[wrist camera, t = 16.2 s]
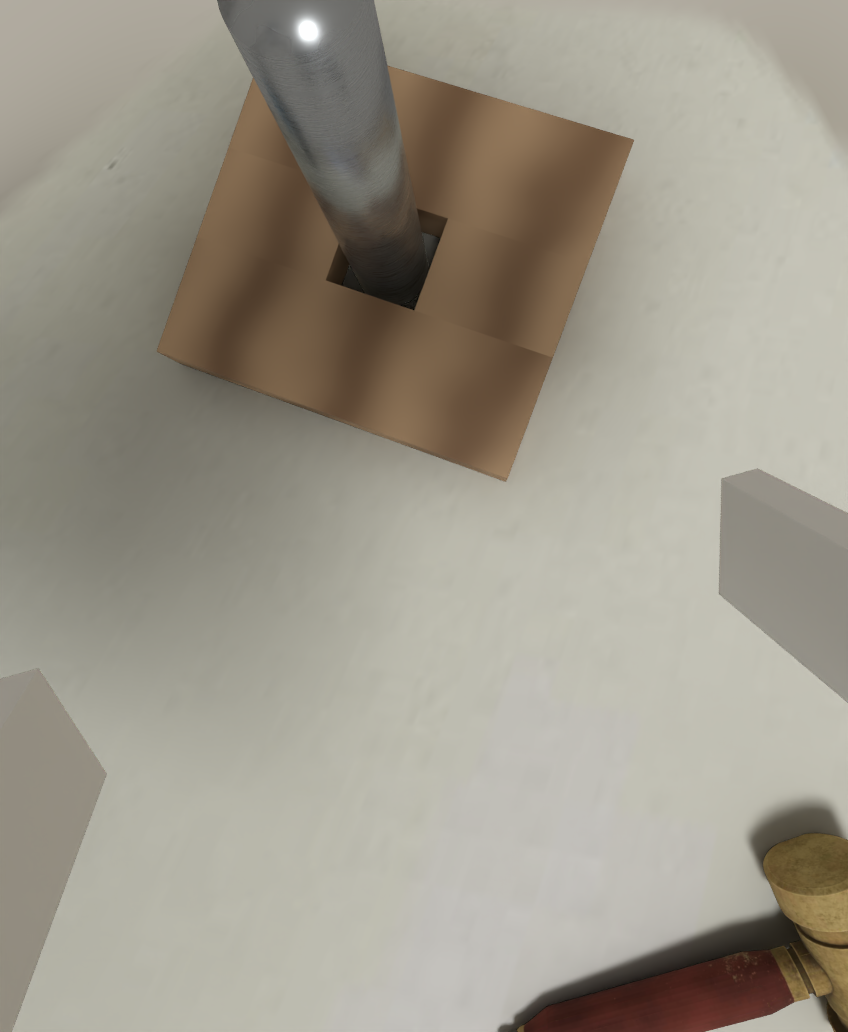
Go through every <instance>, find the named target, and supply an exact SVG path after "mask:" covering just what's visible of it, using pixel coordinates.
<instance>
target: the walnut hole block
mask: <svg viewBox="0 0 848 1032" xmlns="http://www.w3.org/2000/svg"><path fill="white" fill-rule="evenodd" d="M387 67H388V72H389V76H390V81H391V86H392V91H393V96H394V101H395V105H396V110H397V115H398V120H399V125H400V130H401V135H402V139H403V144H404V149H405V154H406V159H407V164H408V168H409V173H410V178H411V183H412V188H413V193H414V197H415V202H416V207H417V212H418V217H419V222H420V226H421V231H422V232H424V233H427V234H430V235H434V236H437V237H440V238H441V239H440V242H439V245H438V247H437V250H436V253H435V256H434V258H433V261H432V264H431V266H430V269H429V272H428V275H427V277H426V280H425V283H424V286H423V288H422V291H421V294H420V296H419V299H418V302H417V305H416V307H415V310H411V309H408V308H405V307H403V306H400V305H397V304H394V303H391V302H388V301H385V300H382V299H379V298H376V297H373V296H370V295H367V294H364V293H361V292H358V291H356V290H353V289H350V288H347V287H344V286H342V283H343V280H344V277H345V275H346V272H347V269H348V266H349V262H348V260H347V258H346V256H345V254H344V252H343V250H342V248H341V247H340V245H339V243H338V241H337V239H336V237H335V235H334V233H333V231H332V229H331V227H330V225H329V223H328V221H327V219H326V217H325V215H324V214H323V212H322V210H321V208H320V206H319V204H318V202H317V200H316V198H315V196H314V194H313V192H312V190H311V188H310V186H309V184H308V182H307V181H306V179H305V177H304V175H303V173H302V171H301V169H300V167H299V165H298V163H297V161H296V159H295V157H294V155H293V153H292V151H291V149H290V148H289V146H288V144H287V142H286V140H285V138H284V136H283V134H282V132H281V130H280V128H279V126H278V124H277V122H276V120H275V118H274V116H273V115H272V113H271V111H270V109H269V107H268V105H267V103H266V101H265V99H264V97H263V95H262V93H261V91H260V89H259V87H258V85H257V84H256V82H255V80H254V78H253V80H252V83H251V86H250V88H249V91H248V94H247V97H246V100H245V102H244V105H243V108H242V111H241V114H240V117H239V119H238V122H237V125H236V128H235V131H234V134H233V136H232V139H231V142H230V145H229V148H228V151H227V153H226V156H225V159H224V162H223V165H222V167H221V170H220V173H219V176H218V179H217V182H216V184H215V187H214V190H213V193H212V196H211V199H210V201H209V204H208V207H207V210H206V213H205V216H204V218H203V221H202V224H201V227H200V230H199V232H198V235H197V238H196V241H195V244H194V247H193V249H192V252H191V255H190V258H189V261H188V264H187V266H186V269H185V272H184V275H183V278H182V281H181V283H180V286H179V289H178V292H177V295H176V297H175V300H174V303H173V306H172V309H171V312H170V314H169V317H168V320H167V323H166V326H165V329H164V331H163V334H162V337H161V340H160V343H159V346H158V348H157V352H159V353H161V354H163V355H165V356H167V357H169V358H170V359H172V360H174V361H176V362H178V363H180V364H183V365H186V366H188V367H191V368H194V369H197V370H199V371H202V372H205V373H208V374H211V375H213V376H216V377H219V378H222V379H224V380H227V381H230V382H233V383H235V384H238V385H241V386H244V387H246V388H249V389H252V390H255V391H257V392H260V393H263V394H266V395H268V396H271V397H274V398H277V399H279V400H282V401H285V402H288V403H290V404H293V405H296V406H299V407H301V408H304V409H307V410H310V411H312V412H315V413H318V414H321V415H323V416H326V417H329V418H332V419H334V420H337V421H340V422H343V423H345V424H348V425H351V426H354V427H356V428H359V429H362V430H365V431H367V432H370V433H373V434H376V435H378V436H381V437H384V438H387V439H390V440H392V441H395V442H398V443H401V444H403V445H406V446H409V447H412V448H414V449H417V450H420V451H423V452H425V453H428V454H431V455H434V456H436V457H439V458H442V459H445V460H447V461H450V462H453V463H456V464H458V465H461V466H464V467H467V468H469V469H472V470H475V471H478V472H480V473H483V474H486V475H489V476H491V477H494V478H497V479H500V480H502V481H505V482H506V480H507V478H508V476H509V473H510V470H511V468H512V465H513V462H514V460H515V457H516V454H517V452H518V449H519V446H520V444H521V441H522V438H523V436H524V433H525V430H526V428H527V425H528V422H529V420H530V417H531V414H532V412H533V409H534V406H535V404H536V401H537V398H538V396H539V393H540V390H541V388H542V385H543V382H544V380H545V377H546V374H547V372H548V369H549V366H550V364H551V361H552V358H553V356H554V353H555V350H556V348H557V345H558V342H559V340H560V337H561V334H562V331H563V329H564V326H565V323H566V321H567V318H568V315H569V313H570V310H571V307H572V305H573V302H574V299H575V297H576V294H577V291H578V289H579V286H580V283H581V281H582V278H583V275H584V273H585V270H586V267H587V265H588V262H589V259H590V257H591V254H592V251H593V249H594V246H595V243H596V241H597V238H598V235H599V233H600V230H601V227H602V225H603V222H604V219H605V217H606V214H607V211H608V209H609V206H610V203H611V201H612V198H613V195H614V193H615V190H616V187H617V185H618V182H619V179H620V177H621V174H622V171H623V169H624V166H625V163H626V161H627V158H628V155H629V153H630V150H631V147H632V144H633V142H634V140H633V139H630V138H626V137H623V136H620V135H616V134H613V133H610V132H606V131H603V130H600V129H596V128H593V127H590V126H586V125H583V124H580V123H576V122H573V121H570V120H566V119H563V118H560V117H556V116H553V115H550V114H546V113H543V112H540V111H536V110H533V109H530V108H527V107H523V106H520V105H517V104H513V103H510V102H507V101H503V100H500V99H497V98H493V97H490V96H487V95H483V94H480V93H477V92H473V91H470V90H467V89H463V88H460V87H457V86H453V85H450V84H447V83H443V82H440V81H437V80H433V79H430V78H427V77H424V76H420V75H417V74H414V73H410V72H407V71H404V70H400V69H397V68H394V67H390V66H387Z"/></svg>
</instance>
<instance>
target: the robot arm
mask: <svg viewBox="0 0 848 1032" xmlns="http://www.w3.org/2000/svg"><path fill="white" fill-rule="evenodd" d="M719 595H721V596H722V597H723V598H724V599H725V600H727V601H728V602H729V603H730V604H731V605H732V606H734V607H735V608H736V609H737V610H738V611H740V612H741V613H742V614H743V615H744V616H745V617H747V618H748V619H749V620H750V621H751V622H753V623H754V624H755V625H756V626H757V627H759V628H760V629H761V630H762V631H763V632H764V633H766V634H767V635H768V636H769V637H770V638H772V639H773V640H774V641H775V642H776V643H777V644H779V645H780V646H781V647H782V648H783V649H785V650H786V651H787V652H788V653H789V654H791V655H792V656H793V657H794V658H795V659H796V660H798V661H799V662H800V663H801V664H802V665H804V666H805V667H806V668H807V669H808V670H809V671H811V672H812V673H813V674H814V675H815V676H817V677H818V678H819V679H820V680H821V681H823V682H824V683H825V684H826V685H827V686H828V687H830V688H831V689H832V690H833V691H834V692H836V693H837V694H838V695H839V696H840V697H842V698H843V699H844V700H845V701H846V702H847V703H848V513H847V512H844V511H842V510H840V509H838V508H836V507H834V506H832V505H830V504H828V503H826V502H824V501H822V500H820V499H818V498H816V497H814V496H812V495H810V494H808V493H806V492H804V491H802V490H800V489H798V488H796V487H794V486H792V485H790V484H788V483H786V482H784V481H782V480H780V479H778V478H776V477H774V476H772V475H770V474H768V473H766V472H764V471H762V470H760V469H754V470H750V471H747V472H743V473H740V474H736V475H732V476H729V477H725V478H722V480H721V522H720V564H719ZM106 775H107V773H106V772H105V770H104V769H103V767H102V766H101V764H100V762H99V761H98V759H97V758H96V756H95V755H94V753H93V752H92V750H91V748H90V747H89V745H88V744H87V742H86V741H85V739H84V738H83V736H82V735H81V733H80V731H79V730H78V728H77V727H76V725H75V724H74V722H73V721H72V719H71V718H70V716H69V714H68V713H67V711H66V710H65V708H64V707H63V705H62V704H61V702H60V701H59V699H58V697H57V696H56V694H55V693H54V691H53V690H52V688H51V687H50V685H49V684H48V682H47V680H46V679H45V677H44V676H43V674H42V673H41V671H40V670H39V668H38V669H34V670H30V671H27V672H23V673H20V674H16V675H12V676H9V677H5V678H2V679H0V1032H12V1030H13V1027H14V1025H15V1022H16V1019H17V1016H18V1014H19V1011H20V1008H21V1006H22V1003H23V1000H24V997H25V995H26V992H27V989H28V987H29V984H30V981H31V978H32V976H33V973H34V970H35V968H36V965H37V962H38V959H39V957H40V954H41V951H42V949H43V946H44V943H45V940H46V938H47V935H48V932H49V930H50V927H51V924H52V921H53V919H54V916H55V913H56V911H57V908H58V905H59V902H60V900H61V897H62V894H63V892H64V889H65V886H66V883H67V881H68V878H69V875H70V873H71V870H72V867H73V864H74V862H75V859H76V856H77V854H78V851H79V848H80V845H81V843H82V840H83V837H84V835H85V832H86V829H87V826H88V824H89V821H90V818H91V816H92V813H93V810H94V807H95V805H96V802H97V799H98V797H99V794H100V791H101V788H102V786H103V783H104V780H105V778H106Z"/></svg>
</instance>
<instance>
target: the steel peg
mask: <svg viewBox="0 0 848 1032" xmlns="http://www.w3.org/2000/svg"><path fill="white" fill-rule="evenodd" d="M217 1H218V6H219V9H220V12H221V15H222V17H223V19H224V21H225V23H226V25H227V27H228V29H229V31H230V33H231V35H232V37H233V39H234V41H235V43H236V45H237V47H238V49H239V51H240V52H241V54H242V56H243V58H244V60H245V62H246V64H247V66H248V68H249V70H250V72H251V74H252V76H253V78H254V80H255V82H256V84H257V85H258V87H259V89H260V91H261V93H262V95H263V97H264V99H265V101H266V103H267V105H268V107H269V109H270V111H271V113H272V115H273V116H274V118H275V120H276V122H277V124H278V126H279V128H280V130H281V132H282V134H283V136H284V138H285V140H286V142H287V144H288V146H289V148H290V149H291V151H292V153H293V155H294V157H295V159H296V161H297V163H298V165H299V167H300V169H301V171H302V173H303V175H304V177H305V179H306V181H307V182H308V184H309V186H310V188H311V190H312V192H313V194H314V196H315V198H316V200H317V202H318V204H319V206H320V208H321V210H322V212H323V214H324V215H325V217H326V219H327V221H328V223H329V225H330V227H331V229H332V231H333V233H334V235H335V237H336V239H337V241H338V243H339V245H340V247H341V248H342V250H343V252H344V254H345V256H346V258H347V260H348V262H349V264H350V266H351V268H352V270H353V272H354V274H355V276H356V278H357V280H358V281H359V283H360V285H361V287H362V289H363V291H364V292H365V294H367V295H370V296H373V297H376V298H379V299H382V300H385V301H388V302H391V303H394V304H397V305H403V304H405V303H408V302H410V301H411V300H413V299H414V298H415V297H416V296H417V295H418V294H419V293H420V292H421V291H422V288H423V286H424V283H425V280H426V277H427V275H428V271H429V267H428V260H427V256H426V251H425V246H424V241H423V236H422V231H421V226H420V222H419V217H418V212H417V207H416V202H415V197H414V193H413V188H412V183H411V178H410V173H409V168H408V164H407V159H406V154H405V149H404V144H403V139H402V135H401V130H400V125H399V120H398V115H397V110H396V105H395V101H394V96H393V91H392V86H391V81H390V76H389V72H388V67H387V62H386V57H385V52H384V47H383V43H382V38H381V33H380V28H379V23H378V18H377V14H376V9H375V4H374V0H217Z"/></svg>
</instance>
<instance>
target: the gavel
mask: <svg viewBox="0 0 848 1032" xmlns="http://www.w3.org/2000/svg"><path fill="white" fill-rule="evenodd" d="M763 868H764V872H765V874H766V877H767V879H768V881H769V884H770V886H771V888H772V890H773V893H774V895H775V897H776V900H777V902H778V904H779V906H780V908H781V910H782V911H783V913H784V914H785V915H786V916H787V917H788V918H789V919H791V920H792V921H793V922H794V925H795V927H796V929H797V932H798V934H799V936H800V939H801V940H800V941H796V942H793V943H789V945H790V948H788V949H786V948H785V946H781V947H777V948H774V949H770V950H758V951H744V952H740V953H736V954H732V955H729V956H725V957H722V958H718V959H715V960H711V961H707V962H704V963H700V964H697V965H693V966H690V967H686V968H682V969H679V970H675V971H672V972H668V973H665V974H661V975H657V976H654V977H650V978H647V979H643V980H640V981H636V982H632V983H629V984H625V985H622V986H618V987H614V988H611V989H607V990H604V991H600V992H597V993H593V994H589V995H586V996H582V997H579V998H575V999H572V1000H568V1001H564V1002H561V1003H557V1004H554V1005H550V1006H547V1007H546V1008H545V1009H543V1010H542V1011H541V1012H540V1013H538V1014H537V1015H536V1016H535V1017H534V1018H532V1019H531V1020H530V1021H529V1022H528V1023H526V1024H525V1025H522V1026H520V1027H519V1028H518V1029H517V1032H705V1031H709V1030H713V1029H717V1028H721V1027H725V1026H728V1025H732V1024H736V1023H740V1022H744V1021H747V1020H751V1019H755V1018H759V1017H763V1016H767V1015H770V1014H773V1013H775V1012H777V1011H779V1010H781V1009H782V1008H784V1007H786V1006H788V1005H790V1004H792V1003H794V1002H797V1001H801V1000H804V999H808V998H810V996H809V994H811V993H814V995H815V996H816V997H819V996H823V995H825V996H826V998H827V1000H828V1003H827V1014H828V1019H829V1021H830V1024H831V1026H832V1028H833V1031H834V1032H848V840H846V839H844V838H841V837H838V836H833V835H829V834H819V833H808V834H804V835H801V836H798V837H795V838H792V839H790V840H787V841H784V842H781V843H778V844H776V845H775V846H774V847H772V848H771V849H770V850H769V851H768V853H767V854H766V856H765V858H764V862H763Z"/></svg>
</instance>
